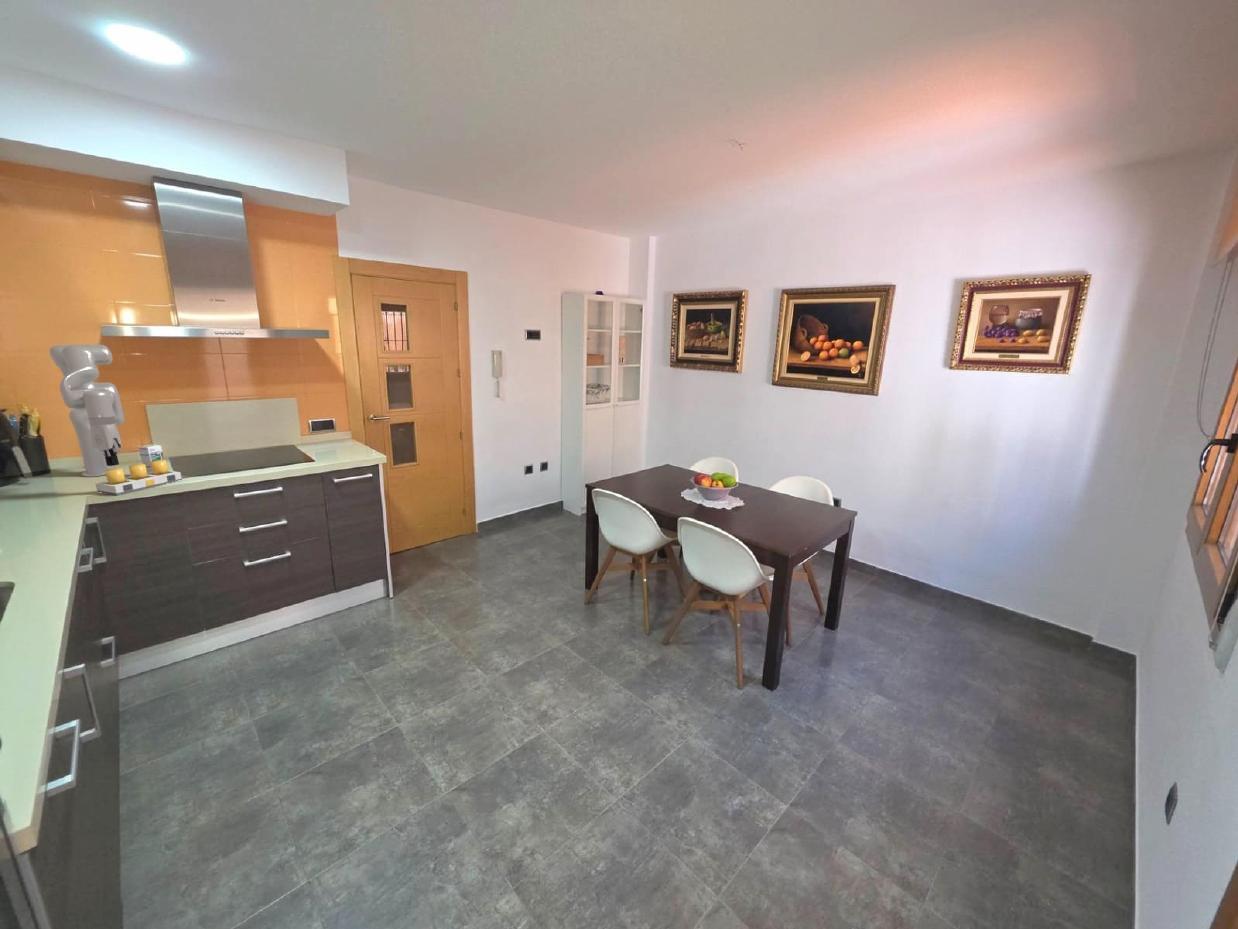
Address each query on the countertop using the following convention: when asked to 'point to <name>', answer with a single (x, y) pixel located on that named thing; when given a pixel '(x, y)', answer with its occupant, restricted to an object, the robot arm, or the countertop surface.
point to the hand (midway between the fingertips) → (113, 465)
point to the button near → (115, 476)
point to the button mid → (138, 471)
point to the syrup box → (150, 455)
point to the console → (138, 483)
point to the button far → (159, 467)
